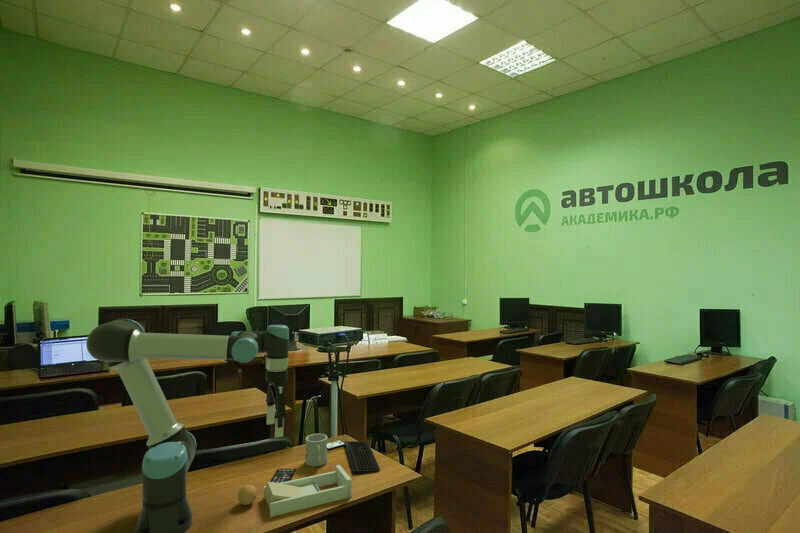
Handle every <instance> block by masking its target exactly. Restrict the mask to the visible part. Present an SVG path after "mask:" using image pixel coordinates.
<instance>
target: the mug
mask: <svg viewBox="0 0 800 533" xmlns="http://www.w3.org/2000/svg"><path fill="white" fill-rule="evenodd" d="M304 439H305V458H304V462H305V464H306V465H307V466H310V467H321V466H323V465H325V464H326V463H328V460H329V459H328V458H329V456H328V439H329V438H328V435H326V434H324V433H312V434H309V435H307V436H306V437H304Z"/></svg>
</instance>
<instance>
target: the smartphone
mask: <svg viewBox="0 0 800 533" xmlns="http://www.w3.org/2000/svg"><path fill="white" fill-rule="evenodd" d="M296 471H297V469H296V468H278V469H277V468H276V471H275V472H274V473H273V475H272V476H271V479H270V480H269V482H273V483H282V482H286V481H291V480H293V476H294V475H295V474H296Z"/></svg>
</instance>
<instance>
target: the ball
mask: <svg viewBox="0 0 800 533" xmlns="http://www.w3.org/2000/svg"><path fill="white" fill-rule="evenodd" d="M257 492H258V491H257V488H256V487H255V486H254V485H252V484H245V485H243V486H241V488H240V489H239V490H238V493H237V500H238V502H239V503H240V505H243V506H249V505H251V504H252V503H254V502H255V500H256V499H257Z"/></svg>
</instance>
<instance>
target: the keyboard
mask: <svg viewBox="0 0 800 533" xmlns="http://www.w3.org/2000/svg"><path fill="white" fill-rule="evenodd" d="M344 448H345V452H346V456H347V459H348V463H349V466H350V469H351V472H352V475H354V476H356V475H357V476H358V475H365V474H374V473H380V471H381V469H380V466H379V464H378V462H377V459H376V457H375V454H374V451H373V450H372V448H371V445H370V443H369V442H368V441H363V440H362V441H361V440H359V441H357V440H355V441H354V440H353V441H349V440H347V441H344ZM370 448H371V449H370Z"/></svg>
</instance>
